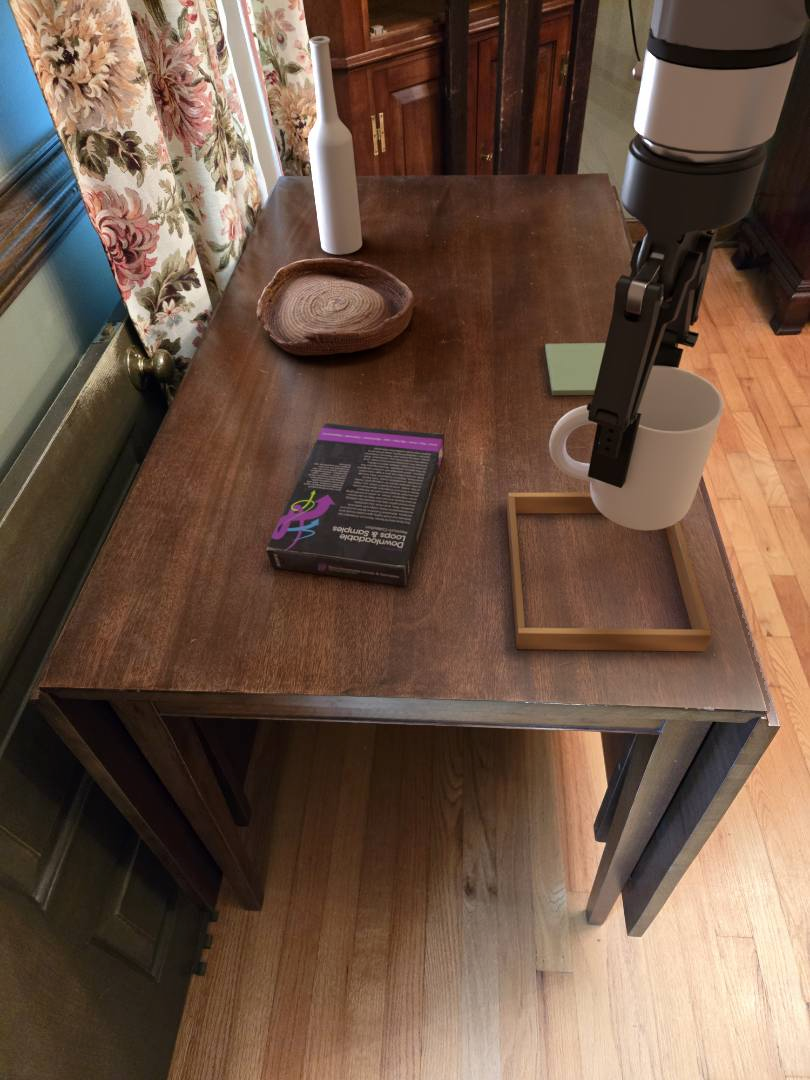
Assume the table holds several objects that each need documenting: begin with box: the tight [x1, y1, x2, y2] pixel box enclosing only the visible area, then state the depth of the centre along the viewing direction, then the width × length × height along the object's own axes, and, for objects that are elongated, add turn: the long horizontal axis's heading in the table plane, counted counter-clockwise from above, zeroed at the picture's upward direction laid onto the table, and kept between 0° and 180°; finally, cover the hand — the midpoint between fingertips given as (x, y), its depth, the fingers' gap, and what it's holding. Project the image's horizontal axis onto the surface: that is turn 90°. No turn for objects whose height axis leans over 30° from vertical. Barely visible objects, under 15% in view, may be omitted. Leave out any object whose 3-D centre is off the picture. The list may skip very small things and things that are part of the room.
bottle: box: [307, 35, 363, 256], centre depth 106 cm, size 7×7×28 cm
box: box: [265, 422, 445, 587], centre depth 75 cm, size 14×4×20 cm
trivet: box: [544, 342, 606, 396], centre depth 90 cm, size 10×10×1 cm
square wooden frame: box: [506, 492, 713, 652], centre depth 68 cm, size 16×17×2 cm
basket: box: [256, 257, 415, 357], centre depth 99 cm, size 22×20×5 cm
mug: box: [548, 365, 725, 531], centre depth 57 cm, size 12×8×10 cm
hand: (627, 445), depth 58 cm, fingers closed on mug, 8 cm apart
